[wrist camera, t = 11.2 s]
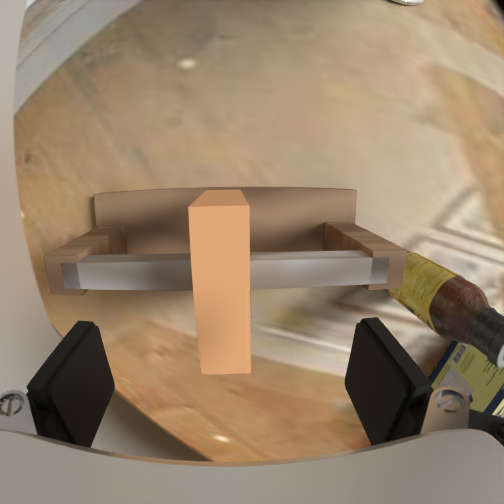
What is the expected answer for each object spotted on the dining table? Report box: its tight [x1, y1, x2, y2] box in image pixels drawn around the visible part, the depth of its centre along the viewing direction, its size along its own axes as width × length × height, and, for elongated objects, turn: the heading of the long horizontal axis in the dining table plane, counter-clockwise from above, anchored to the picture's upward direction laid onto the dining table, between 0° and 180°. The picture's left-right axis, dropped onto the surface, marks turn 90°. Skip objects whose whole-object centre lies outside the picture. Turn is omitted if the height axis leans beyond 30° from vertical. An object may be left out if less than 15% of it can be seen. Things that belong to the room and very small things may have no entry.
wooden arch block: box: [188, 190, 251, 374], centre depth 22 cm, size 10×3×12 cm, turn 0°
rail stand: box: [44, 187, 407, 295], centre depth 26 cm, size 10×28×13 cm, turn 90°
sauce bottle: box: [386, 251, 504, 368], centre depth 26 cm, size 7×6×20 cm
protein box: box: [429, 341, 504, 418], centre depth 34 cm, size 10×16×16 cm
